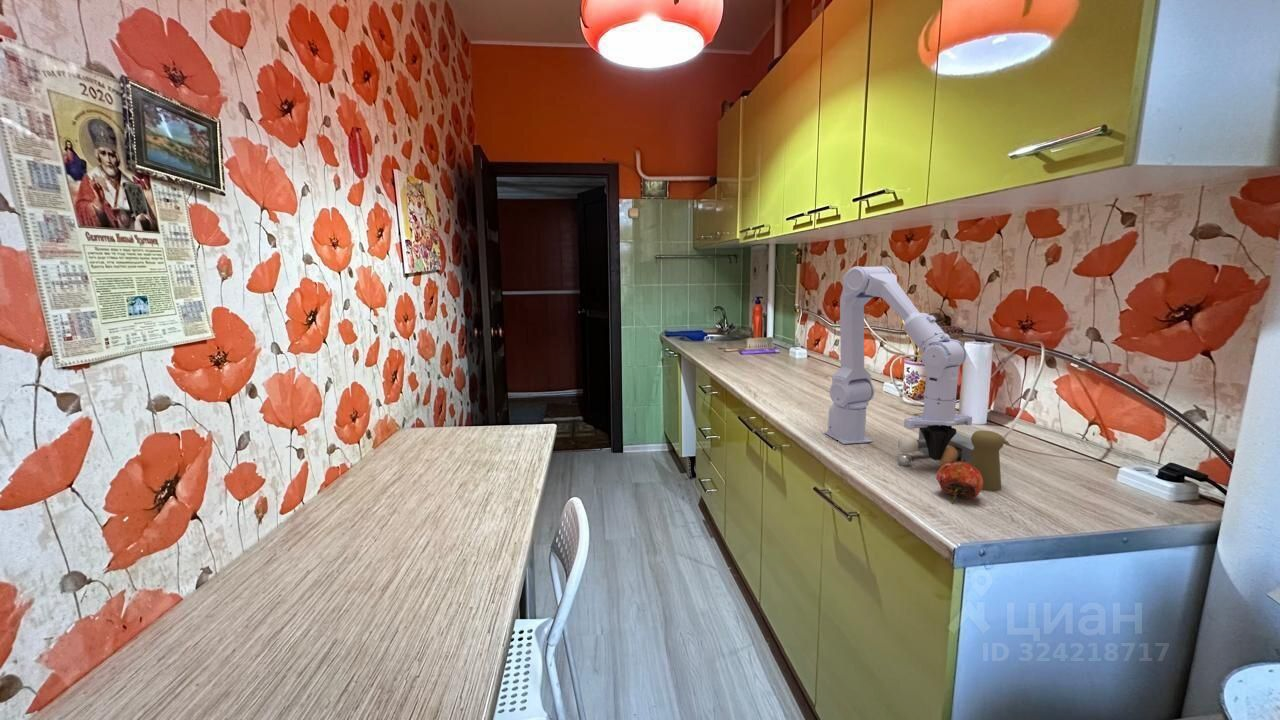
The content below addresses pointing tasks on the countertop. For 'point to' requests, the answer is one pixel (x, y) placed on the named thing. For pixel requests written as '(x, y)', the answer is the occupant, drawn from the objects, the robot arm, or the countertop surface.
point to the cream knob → (910, 444)
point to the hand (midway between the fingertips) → (935, 458)
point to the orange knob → (950, 454)
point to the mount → (956, 446)
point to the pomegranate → (960, 479)
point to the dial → (904, 460)
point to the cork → (987, 458)
